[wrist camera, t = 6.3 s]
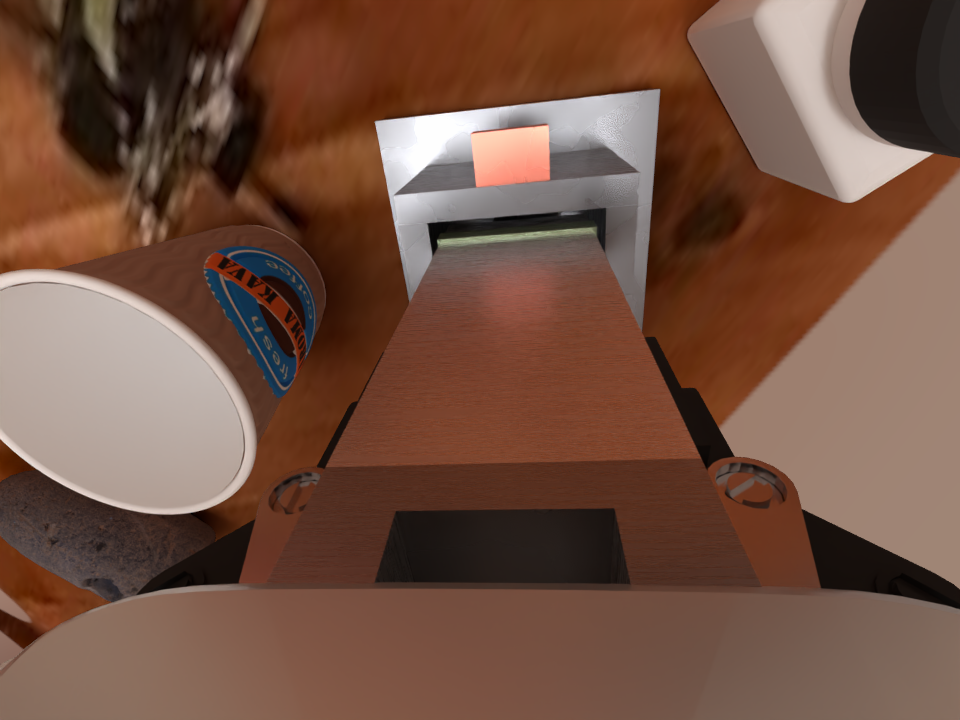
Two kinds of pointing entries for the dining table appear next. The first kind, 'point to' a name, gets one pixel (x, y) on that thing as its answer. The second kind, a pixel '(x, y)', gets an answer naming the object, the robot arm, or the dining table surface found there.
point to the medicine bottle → (836, 85)
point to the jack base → (576, 161)
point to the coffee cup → (156, 364)
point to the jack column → (516, 435)
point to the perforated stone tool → (94, 536)
